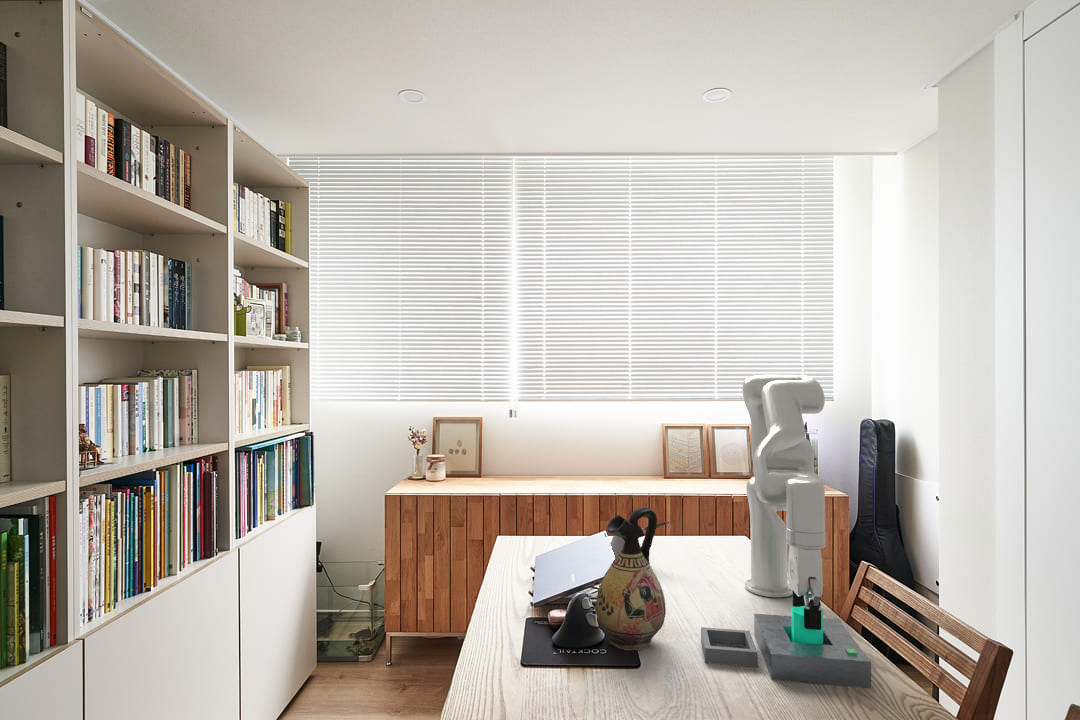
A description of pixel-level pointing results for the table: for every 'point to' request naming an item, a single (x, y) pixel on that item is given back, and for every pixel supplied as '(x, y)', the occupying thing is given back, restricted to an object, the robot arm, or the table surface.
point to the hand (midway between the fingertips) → (806, 618)
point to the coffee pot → (619, 542)
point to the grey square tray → (726, 653)
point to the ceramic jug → (631, 587)
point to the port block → (811, 654)
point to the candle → (799, 630)
